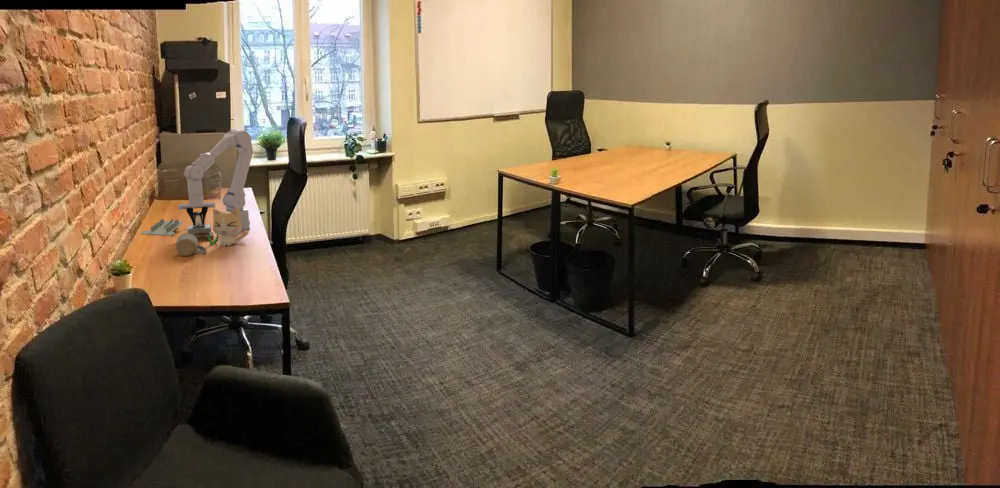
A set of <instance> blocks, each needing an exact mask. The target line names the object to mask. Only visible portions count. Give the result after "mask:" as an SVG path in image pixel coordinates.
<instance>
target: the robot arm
mask: <svg viewBox="0 0 1000 488" xmlns="http://www.w3.org/2000/svg"><path fill="white" fill-rule="evenodd" d="M252 141H253V138H252V136H251V135H250V133H249V132H248V131H246V130H244V129H243V130H242V129H235V128H233V129H229V131H227V132H226V133H225V134H224V135H223V137H222V138H221V139H220V140H219V141H218V142H217V143H216V144H215V145H214V146H213V147H212V148H211V149H210V151H209V152H203V153H200V154H199V157H198V158H197V159H196V160H195V161H193V162H191V165H188V166H186V167H185V168H184V172H183V175H184V177H185V178H186V180H187V181H186V183H187V192H188V193H187V194H188V203H183V204H181V203H179V204H178V206H177V207H178V210H180V211H181V210H186V212H187V214H188V216H189V218H190V220H191V223H192V225H193V226H195V222H194V214H193V212H194V209H201V212H202V223H203V225H206V224H205V223H206V222H205V221H206V216H207V214H208V211H209V208H210V209H211V208H212V209H214V208H215V209H216V202H215V201H214V202H205V200H204V190H203V181H202V179H203V177H204V174H205V172H206V171H208V170H209V168H211V166H212V165H214V164H215V163H216V158H217V157H218V156H220V155H221V153H223V152H224V151H225V150H226V149H227V148H229V147H235V148H236V150H237V151H238V153H239V154H238V157H237V162H236V164H235V168H234V173H233V177H232V180H231V183H230V187H228V188H227V190H226V193H225V194H224V196H223V197H222V203H223V205H224V206H225V212H232V211H233V210H235V209H237V208H239V209H240V217H241V220H240V221H241V231H243V230H250V225H251V221H250V219H249V218H250V217H249V209H248V208H245V205H246V193H245V190H244V188H245V184H246V180H247V177H248V173H249V170H250V165H251V162H252V158H253V153H254V148H253V144H252Z"/></svg>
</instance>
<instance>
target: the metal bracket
mask: <svg viewBox="0 0 1000 488" xmlns="http://www.w3.org/2000/svg"><path fill="white" fill-rule="evenodd" d="M183 223H184V221H179V219H175V221H174V219H173V218H172V219H170V220H165V219H164V218H161V219H160V220H159V222H156V223H154V224H153V225H152V226H151V227H150V229H148V230H143V231H142V232H141V233H140V235H142V234H148V235H147V236H165V237H172V236H173V235H175V234H176V232H175V230H179V227H180V226H181V225H182V224H183Z"/></svg>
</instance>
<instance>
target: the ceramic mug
mask: <svg viewBox="0 0 1000 488" xmlns="http://www.w3.org/2000/svg"><path fill="white" fill-rule="evenodd" d="M175 250H176V251H177V253H178V254H179V255H180V256H183V257H191V256H193V255H194V254H195V253H197V254H201V255H205V254H206V253H207V248H205V246H203V245H200V244H199V241H198V240H197V238H196V237H195V236H194V235H192V234H189V233H188V232H187V233H182V234H180V235H179V236H178V237H177V240H176V244H175Z"/></svg>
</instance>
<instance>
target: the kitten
mask: <svg viewBox="0 0 1000 488" xmlns="http://www.w3.org/2000/svg"><path fill="white" fill-rule="evenodd" d="M212 209H213V210H212V217H213V218H212V219H213V223H212V232H213V233H215V234H216V238H215V239H213V240H211V239H210V233H209V235H208V240H207V241H208V242H209V246H213V245H217V242H218V241H219V243H220V244H221V245H222V246H223V247H226V246H227V247H230V246H232V245H235V244H236V243H237V242H238V241H241V240H243V238H245V237H246V236H248V234H249V230H248V229H245V230H244V231H243V230H241V221H240V220H241V217H240V209H239V208H237V209H235V210H233V211H232V212H226V211H221V210H218V209H216V207H215V208H212ZM241 231H243V232H242V233H241ZM240 233H241V235H239V236H236V235H238V234H240ZM219 236H220V237H219Z"/></svg>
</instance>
